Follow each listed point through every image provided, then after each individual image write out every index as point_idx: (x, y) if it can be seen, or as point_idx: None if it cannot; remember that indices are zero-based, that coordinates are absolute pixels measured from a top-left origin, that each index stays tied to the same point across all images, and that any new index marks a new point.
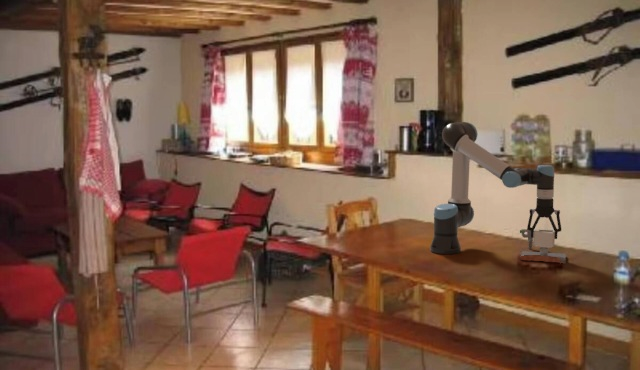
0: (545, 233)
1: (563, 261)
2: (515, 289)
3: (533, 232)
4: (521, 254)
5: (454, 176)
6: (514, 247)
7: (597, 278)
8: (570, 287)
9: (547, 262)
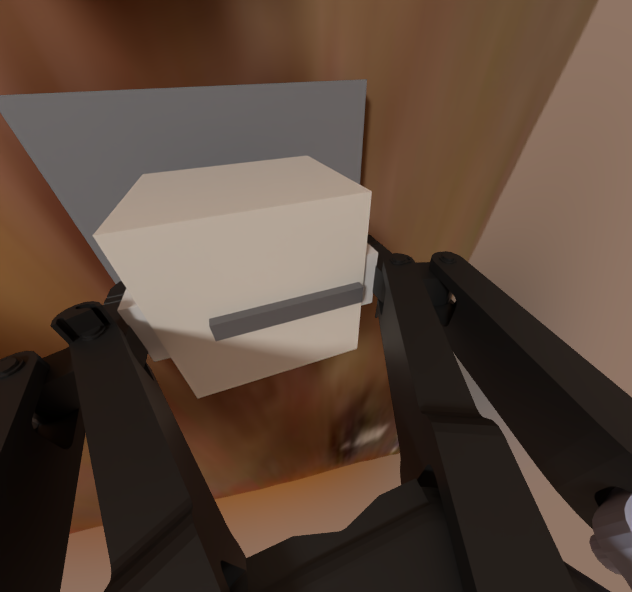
0: (296, 361)
1: None
2: (258, 476)
3: (156, 354)
4: (87, 240)
5: None
6: None
7: None
8: (349, 420)
9: None
